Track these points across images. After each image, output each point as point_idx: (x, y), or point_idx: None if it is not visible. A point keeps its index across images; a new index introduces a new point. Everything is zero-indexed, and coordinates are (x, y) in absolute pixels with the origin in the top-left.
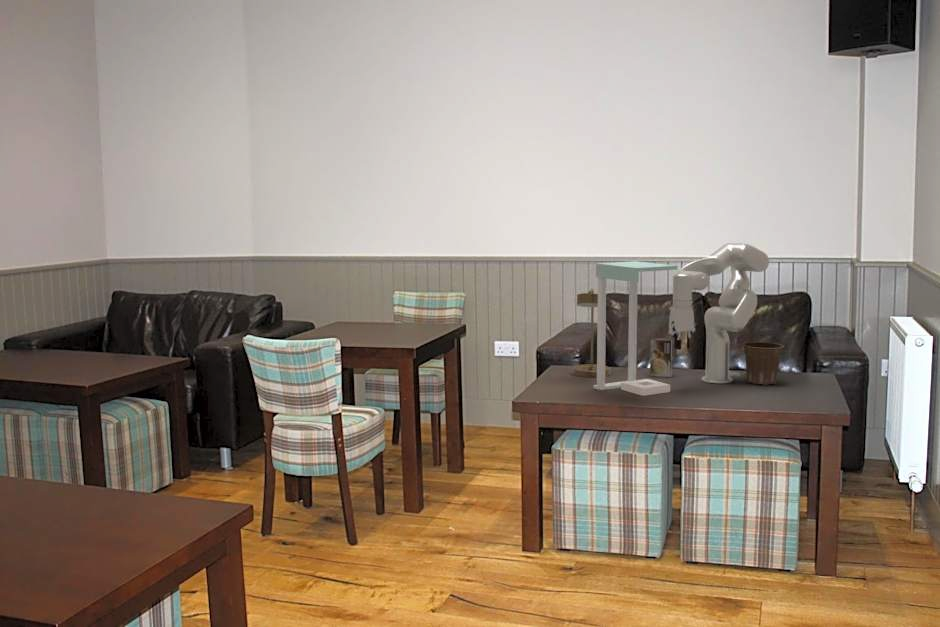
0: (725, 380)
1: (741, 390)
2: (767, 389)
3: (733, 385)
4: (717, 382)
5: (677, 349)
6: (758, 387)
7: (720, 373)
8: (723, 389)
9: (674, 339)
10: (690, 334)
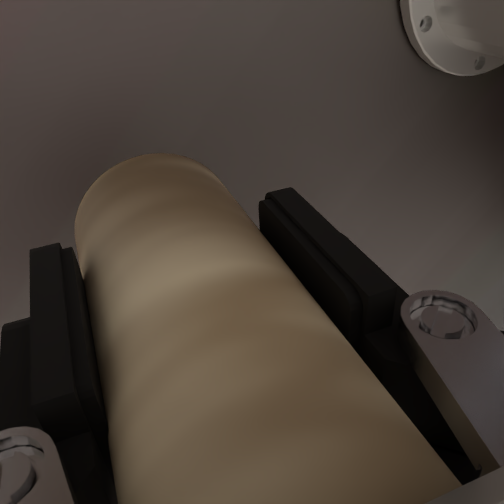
0: (473, 63)
1: (375, 249)
2: (466, 260)
3: (441, 131)
4: (421, 54)
5: (82, 269)
6: (477, 215)
7: (493, 54)
8: (326, 203)
9: (31, 396)
10: (474, 469)
